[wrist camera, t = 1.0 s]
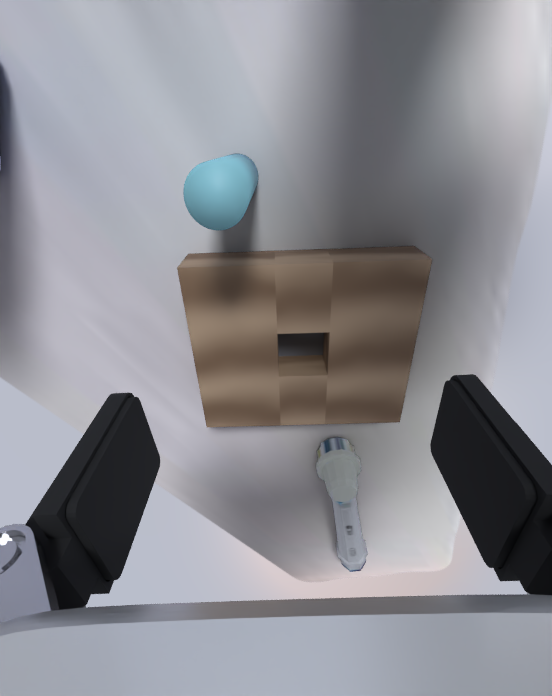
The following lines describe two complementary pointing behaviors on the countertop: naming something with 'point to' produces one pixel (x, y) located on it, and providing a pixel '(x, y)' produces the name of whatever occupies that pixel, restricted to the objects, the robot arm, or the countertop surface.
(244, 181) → the peg
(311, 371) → the socket block
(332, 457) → the white handheld massager
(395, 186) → the countertop surface
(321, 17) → the countertop surface
